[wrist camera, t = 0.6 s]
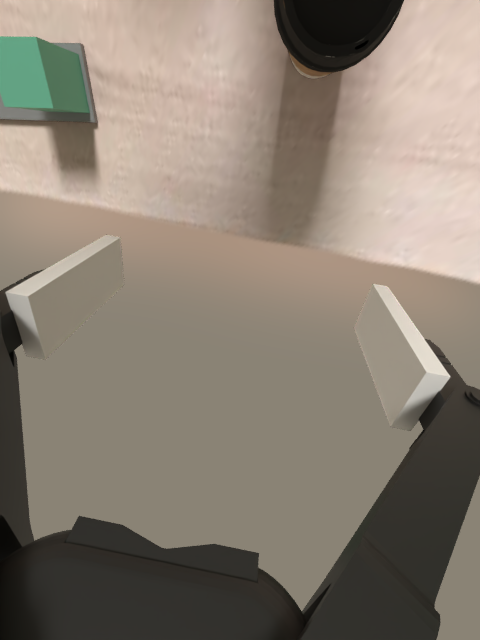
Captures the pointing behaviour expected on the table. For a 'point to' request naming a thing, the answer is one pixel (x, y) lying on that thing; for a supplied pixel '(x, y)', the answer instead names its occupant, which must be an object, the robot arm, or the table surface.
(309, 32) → the coffee cup
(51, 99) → the stand
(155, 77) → the table surface
